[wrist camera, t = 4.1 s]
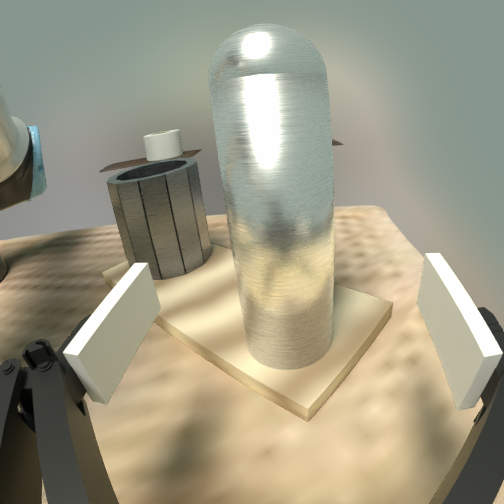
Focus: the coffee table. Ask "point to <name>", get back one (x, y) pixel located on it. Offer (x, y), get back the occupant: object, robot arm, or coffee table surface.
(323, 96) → the polished capsule rod
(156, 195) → the grey wooden bucket
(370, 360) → the coffee table surface
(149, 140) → the toilet paper roll
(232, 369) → the birch board
